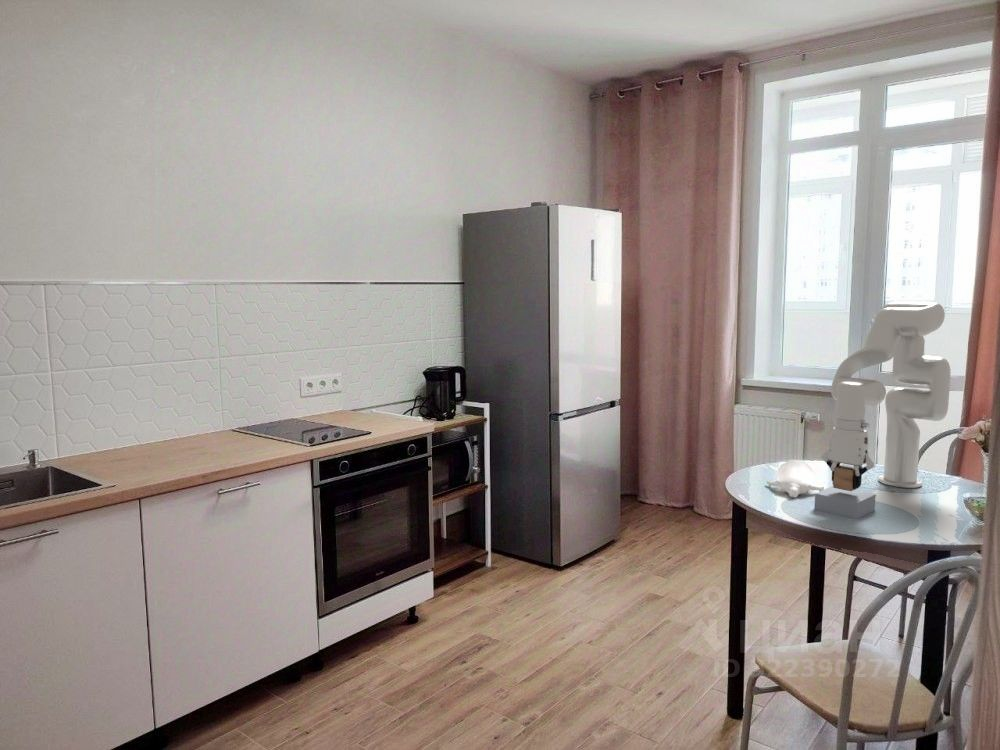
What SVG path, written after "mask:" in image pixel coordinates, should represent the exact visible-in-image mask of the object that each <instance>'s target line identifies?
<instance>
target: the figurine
mask: <svg viewBox="0 0 1000 750" xmlns="http://www.w3.org/2000/svg"><path fill="white" fill-rule="evenodd" d="M815 477H816V472H815V470H814V469H813V467H812V466H810V465H809V464H808V463H807V462H806V461H801V460H797V459H789V460H787V461H786V462H785V463H782V464H780V466H779V467H778V468H777V471H776V478H777V479H778V480H776V481H774V480H773V481H770V480H766V484H767V485H768V487H771V486H774V487H779V488H780V489H781V490H782V491H783V492H785V493H788V495H789V497H791V498H798V496H799V495H801V494H805V493H806V492H808V491H818V492H820V491H822V490H825V486H824V485H823V486H818V485H814V484H812V482H814V480H815V479H816V478H815Z"/></svg>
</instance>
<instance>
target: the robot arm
mask: <svg viewBox="0 0 1000 750" xmlns="http://www.w3.org/2000/svg"><path fill="white" fill-rule="evenodd" d="M944 309H945V308H944V307H943V306H942V305H941V303H938V302H934V301H933V302H932V301H931V302H930V301H928V302H927V301H919V302H918V301H892V302H888V303H885V304H883V306H882V308H881V309H880V310H879V311H877V313H876V314H875V317H874V319H873V322H872V324H871V326H870V329H869V332H868V334H867V337H866V339H865V342H864V344H863V346H862V347H861V348H859V349H858V350H856V351H855V352H853V353H852V354H850V355H849V356H847V358H846V359H844V360H843V361H842V362H841V363H840V364H839V365H838V368H837V370H836V372H835V374H834V377H833V379H832V383H831V388H830V392H831V393H830V394H831V396H832V398H833V399H834V400H835V401H836V402H835V417H834V418H835V421H834V427H832V429H831V432H830V437H829V441H828V448H827V451H825V452H824V453H823V454H822V455H821V459H822V461H824V462H825V463H826V465H827V466H828V468H829V469H830V472H831V482H832V483H833V482H834V468H835V467H837V466H840V465H841V464H843V465H848V466H852V467H854V471H855V475H854V476H853V489H855V490H857V489H859V488H860V487H861V486H862V476H863V475H864V474H865V473H867V472H868V471H869V470H871V469H873V468H875V466H876V464H875V463H874V461H873V460H872V459H871V458H870V443H869V434H868V430H865V429H870V423H868V422H866V419H865V418H866V417H865V416H866V415H865V414H866V407H867V406H870V407H871V406H872V407H874V406H878V405H880V404H881V403H882V402H883V401H885V402H884V405H885V410H886V413H885V414H886V436H885V451H884V467H883V468H884V469H883V474H881V475H879V476H877V477H878V478H877V481H878V482H879V483H880V484H884V485H886V486H890V487H897V488H904V489H907V488H908V489H911V488H912V489H913V488H914V489H915V488H919V487H922V486H923V481H922V480H921V479H919V478H918V472H919V469H918V468H919V466H918V465H919V457H920V456H919V455H920V453H919V451H920V440H921V430H920V427H919V425H918V424H917V422H916V421H915V420H916V419H917V420H924V421H931V422H933V421H934V422H939V421H943V420H944V419H945V418H946V416H947V414H948V410H949V401H950V390H951V389H950V388H951V373H952V372H951V371H952V370H951V366H950V362H949V361H948V360H947V359H946V358H945V357H942V356H937V355H936V356H935V355H934V356H933V355H932V356H931V355H926V354H925V343H926V342H925V341H926V340H925V338H924V337H925V336H927V335H929V334H931V333H934V332H935V331H937V330H938V329H940V328H941V327H942V325H943V323H944V321H945V316H946V315H945V314H946V313H945V310H944ZM891 359H892V376H893V377H892V378H893V380H894V381H895V382H897V383H899V384H904V385H914V386H915V385H916V386H923V387H928V388H929V389H919V388H912V387H911V388H910V387H894V388H892V389H890V390H889V391H888V392H887V390H886V386H885V385H884V383H883V382H881V381H879V380H875V379H868V378H866V379H865V378H858V377H853V376H854V375H855V374H856V373H857V372H859V371H861V370H863V369H866V368H870V367H873V366H877V365H880V364H883V363H887V362H888V361H891ZM863 464H866V465H864V467H863Z"/></svg>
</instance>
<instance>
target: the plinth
mask: <svg viewBox="0 0 1000 750" xmlns="http://www.w3.org/2000/svg"><path fill="white" fill-rule="evenodd" d="M876 498H877V497H876V494H875V493H871V492H865V491H861V490H857V489H855V490H853V491H846V490H842V489H837V488H833V485H832V486H829V487H827V488H824V489H823V490H822V491H816V492H815V493H814V506H813V508H814V510H817V511H822V512H826V513H831V514H834V515H838V516H839V515H840V516H842V517H846V518H852V519H855V520H857V519H860V518H862V517H863V516H866V515H868V514H869V513H871V512H873V511H875V510H876Z"/></svg>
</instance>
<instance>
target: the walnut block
mask: <svg viewBox="0 0 1000 750" xmlns="http://www.w3.org/2000/svg"><path fill="white" fill-rule="evenodd" d="M854 475H855V471H854V466H853V465H848V464H840V466H837V467H835V468H834V482H833V481H832V486H833V488H837V489H842V490H846V491H853V490H856V489H853V476H854Z"/></svg>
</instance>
